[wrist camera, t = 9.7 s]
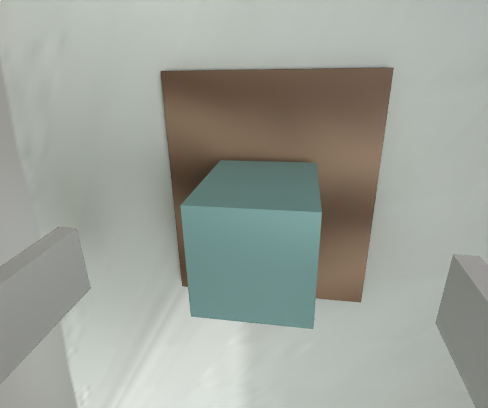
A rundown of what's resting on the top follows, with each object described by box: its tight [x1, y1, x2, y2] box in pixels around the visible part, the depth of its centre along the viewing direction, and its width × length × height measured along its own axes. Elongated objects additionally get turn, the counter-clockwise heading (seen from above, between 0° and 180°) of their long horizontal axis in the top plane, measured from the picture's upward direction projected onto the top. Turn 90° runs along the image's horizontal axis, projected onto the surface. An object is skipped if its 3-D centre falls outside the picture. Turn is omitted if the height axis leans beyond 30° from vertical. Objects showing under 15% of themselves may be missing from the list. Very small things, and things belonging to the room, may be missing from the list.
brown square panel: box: [161, 68, 394, 302], centre depth 17 cm, size 14×12×8 cm
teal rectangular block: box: [180, 160, 322, 329], centre depth 16 cm, size 5×5×7 cm
